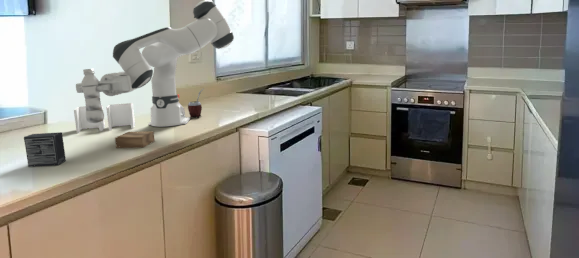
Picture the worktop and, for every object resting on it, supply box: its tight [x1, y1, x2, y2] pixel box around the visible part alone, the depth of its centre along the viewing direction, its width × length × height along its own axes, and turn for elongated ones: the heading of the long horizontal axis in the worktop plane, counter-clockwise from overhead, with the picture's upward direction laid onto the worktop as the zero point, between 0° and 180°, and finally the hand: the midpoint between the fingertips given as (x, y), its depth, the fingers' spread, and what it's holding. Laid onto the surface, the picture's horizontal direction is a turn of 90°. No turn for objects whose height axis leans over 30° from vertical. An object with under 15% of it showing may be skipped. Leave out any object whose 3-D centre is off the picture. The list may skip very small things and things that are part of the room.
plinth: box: [114, 130, 156, 149], centre depth 189 cm, size 11×11×4 cm
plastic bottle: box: [80, 68, 105, 123], centre depth 177 cm, size 6×7×20 cm
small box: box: [23, 131, 67, 168], centre depth 164 cm, size 11×6×10 cm, turn 92°
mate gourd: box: [187, 88, 204, 119], centre depth 248 cm, size 8×8×15 cm
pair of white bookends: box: [73, 102, 136, 134], centre depth 226 cm, size 25×11×11 cm, turn 104°
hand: (89, 88), depth 176 cm, fingers closed on plastic bottle, 6 cm apart
